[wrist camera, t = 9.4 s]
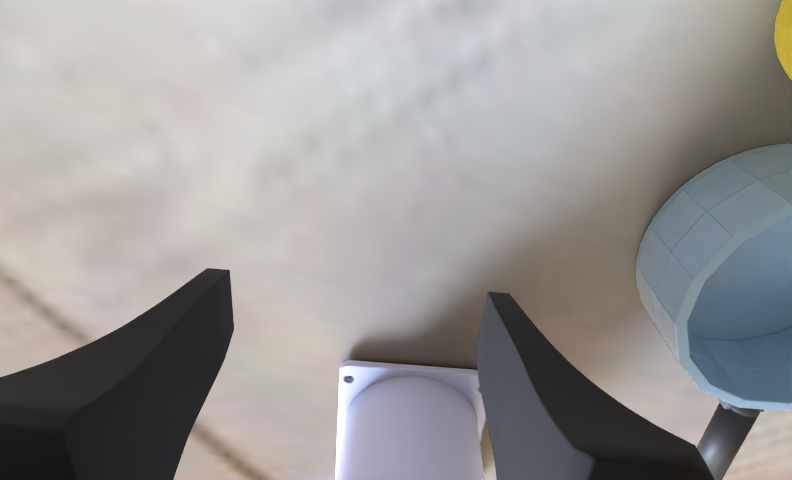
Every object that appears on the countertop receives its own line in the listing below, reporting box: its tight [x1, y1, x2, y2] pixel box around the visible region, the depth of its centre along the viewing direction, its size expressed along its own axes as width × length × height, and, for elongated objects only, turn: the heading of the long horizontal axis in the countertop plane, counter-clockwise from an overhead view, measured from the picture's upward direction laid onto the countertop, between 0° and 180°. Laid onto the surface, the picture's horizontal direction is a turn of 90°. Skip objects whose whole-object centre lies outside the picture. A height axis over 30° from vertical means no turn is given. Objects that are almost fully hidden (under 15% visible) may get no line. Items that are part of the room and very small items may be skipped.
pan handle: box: [697, 399, 764, 480], centre depth 26 cm, size 7×2×2 cm, turn 175°
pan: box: [635, 143, 792, 411], centre depth 23 cm, size 10×10×4 cm
